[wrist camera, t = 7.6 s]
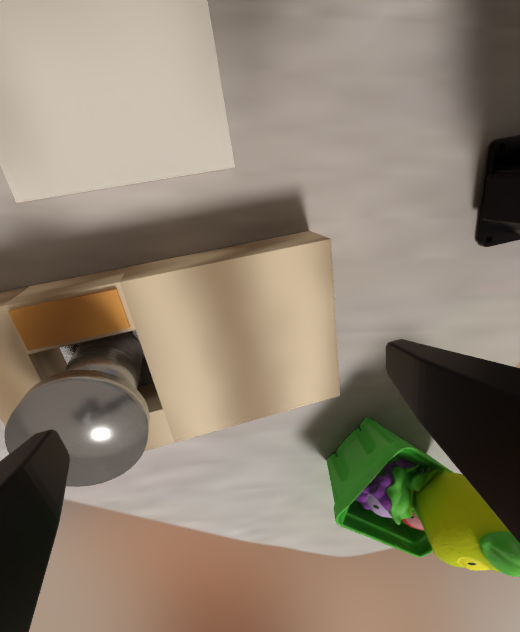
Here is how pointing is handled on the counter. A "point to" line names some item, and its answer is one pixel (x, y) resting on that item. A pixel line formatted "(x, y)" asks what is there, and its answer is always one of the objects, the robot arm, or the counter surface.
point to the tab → (108, 94)
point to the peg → (90, 410)
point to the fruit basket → (416, 503)
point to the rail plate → (192, 332)
